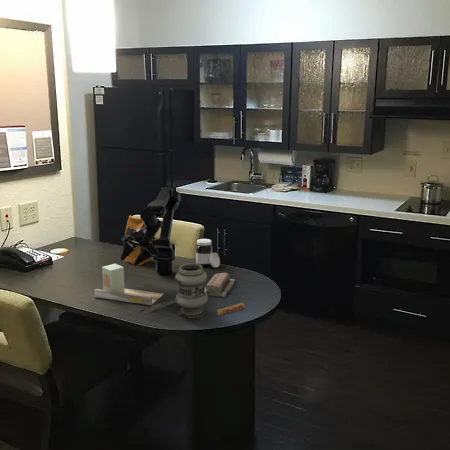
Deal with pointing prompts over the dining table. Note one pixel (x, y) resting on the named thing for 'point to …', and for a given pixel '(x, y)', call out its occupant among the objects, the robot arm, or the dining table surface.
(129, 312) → the dining table surface
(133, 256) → the coffee package
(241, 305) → the chocolate bar
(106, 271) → the carton
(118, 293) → the shelf
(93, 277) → the dining table surface
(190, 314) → the apothecary jar
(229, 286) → the packaged product
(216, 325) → the dining table surface
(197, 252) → the spread jar
